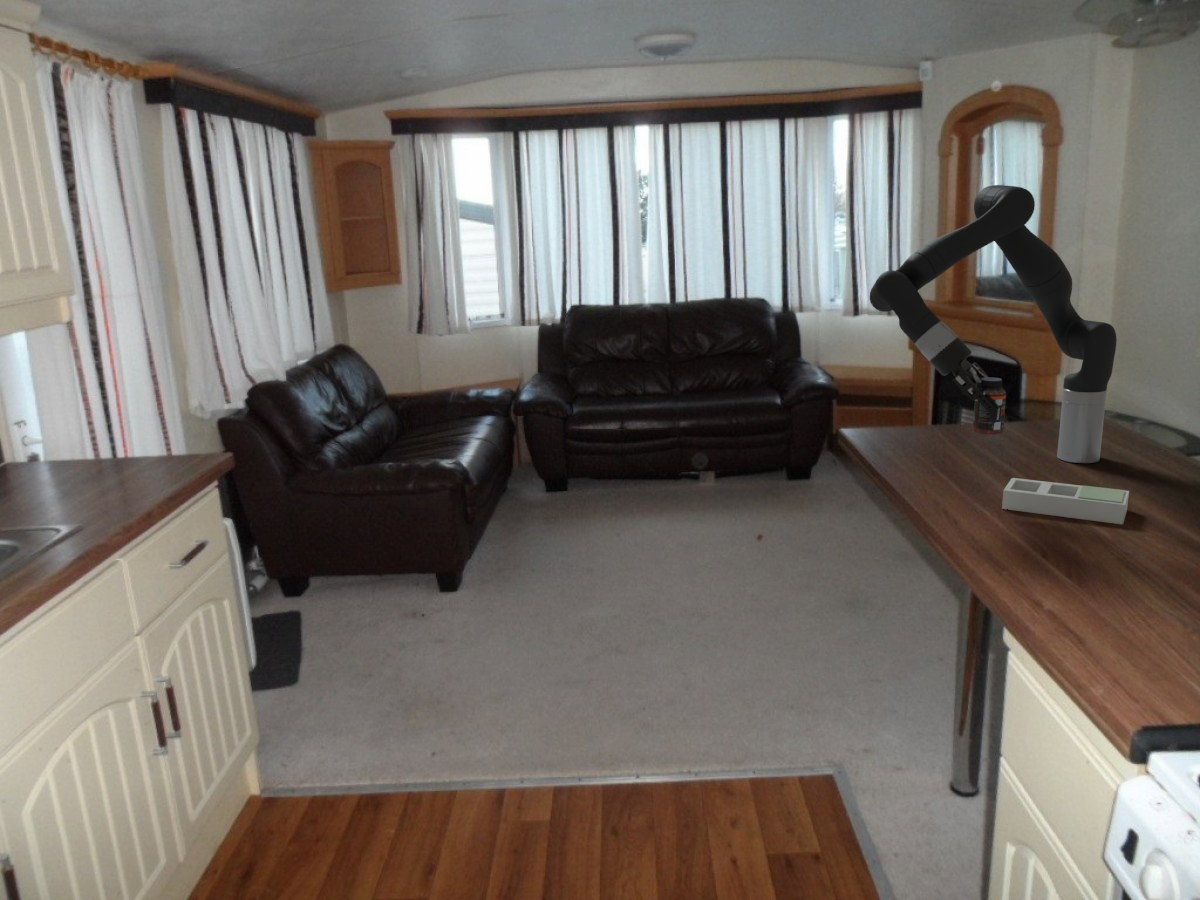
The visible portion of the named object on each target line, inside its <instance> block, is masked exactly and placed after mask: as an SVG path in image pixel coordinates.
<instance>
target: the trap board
mask: <svg viewBox="0 0 1200 900" xmlns="http://www.w3.org/2000/svg"><path fill="white" fill-rule="evenodd" d="M1129 496H1130V490H1125V489H1118V488H1109V487H1099V486H1093V485H1092V486H1091V485H1078V484H1071V483H1061V482H1052V481H1045V480H1044V481H1042V480H1036V479H1035V480H1033V479H1028V478H1027V479H1026V478H1017V477H1012V478H1010V480H1009V481H1008V483H1007V485H1006V486H1005V488H1004V489H1003V491H1002V504H1001V505H1002V506H1001V509H1002V510H1007V509H1008V510H1009V511H1017V512H1023V513H1032V514H1039V515H1045V516H1046V515H1048V516H1054V517H1055V516H1056V517H1060V518H1061V517H1063V518H1070V519H1078V520H1083V521H1084V520H1086V521H1091V522H1093V521H1094V522H1100V523H1108V524H1116V525H1124V522H1125V519H1126V515H1127V512H1128V506H1129V505H1128V503H1129Z"/></svg>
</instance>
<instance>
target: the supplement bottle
mask: <svg viewBox="0 0 1200 900" xmlns="http://www.w3.org/2000/svg"><path fill="white" fill-rule="evenodd" d="M981 381H982V383H983V385H982V387H983V388H984V390H985V391H986V393H987V394H988V395H989V396H990V397H991V398H992V399H993V400H994V401H995V402H996V403H997V404H998V406H999V409H998V410H997V411H996V412H994V413H993V414H990V413H989V412H988V411H987V410H986V409H985V408H984V407H983V406H982V405H981V404H980V403H979V402H977V401H975V400H974V408H973V420H972V421H973V422H972V425H973V426H972V430H973V431H974V432H975V433H978V434H981V435H999V434H1001V433H1003V432H1004V428H1005V416H1006V415H1005V414H1006V413H1005V412H1006V403H1007V401H1006V400H1007V392H1006V390H1005V389H1004V388H1003V387H1002V386H1003V379H1002V378H1000V377H989V376H988V377H986V378H982V379H981ZM987 394H986V395H987Z"/></svg>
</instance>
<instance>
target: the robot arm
mask: <svg viewBox="0 0 1200 900" xmlns="http://www.w3.org/2000/svg"><path fill="white" fill-rule="evenodd" d="M1035 205H1036V203H1035V197H1034V195H1033V194H1032V193H1031V192H1030V191H1029V190H1028V189H1026V188H1024V187H1020V186H1015V185H1006V184H1005V185H1004V184H996V185H995V184H994V185H993V184H992V185H988V186H986V187H984V188H982V189H981V190H979V191H978V193H977V194H976V196H975V199H974V202H973V212H974V216H975V218H976V219H975V220H973V221H972V222H969V223H967V224H966V225H964V226H962V227H960V228H957V229H955V230H953V231H952V230H951V231H950V232H948V233H945V234H943V235H940V236H938V237H936V238H935V239H933V240H931V241H929V242H928V243H926V244H925V245H923V246H922V247H921V248H920V249H918V250H916V251H915V252H914V253H913V254H911V255H910V256H908V258H907V259H906V260H905V261H904V262H903V264H902V265H901V266H899V267H898V268H897V269H896V270H893V269H892V270H887V271H883V273H881V274H880V275H879V276H878V278H877V279H876V281H875V282H874V283H873V285H872V287H871V289H870V292H869V302H870V304H871V306H872V308H874V309H875V310H876V311H879V312H884V313H885V312H886V313H888V312H892V311H893V312H894V313H895V315H896V316H897V318H898V323H899V324H898V325H899V328H900V329H901V331H902V332H903V333H904V334H905V335H906V336H907V338H908V339H910V340H911V341H912V343H913V344H914V345H915V346H916V347H917V349H918V351H920V353H921V354H922V355H923V356H924V357H925V358H926V360H927V361H928V362H929V363H930V364H931V365H932V366H933V367H934V369H936V371H938V372H939V374H940V375H942V376H944V377H945V376H947V375H948V374H950V373H952V374H953V376H954V378H953V379H952V382H953V383H954V385H956V386H957V387H958V388H959V389H960V390H961V391H962V392H963V393H964V394H965V396H967V397H968V399H970V400H971V401H973V402H975V401H977V402H979V403H980V404H981V405H982V406H983V407H984V408H985V409H986V410H987V411H988V412H989V413H990V414H993V413H994V412H996V411H997V410H998V409H999V406H998V404H997V403H996V402H995V401H994V400H993V399H992V398H991V397H990V396H989V395H988V394H987V393H986V391H985V390H984V388H983V387H982V385H983V383H982V381H981V379H982V378H986V377H989V375H988V374H987V373H986V371H984V370H983V368H982V367H981V366H980V365H979V364H978V363H977V362H973V363H970V361H968V360H967V358H968V357H970V356H971V354H972V350H971V349H970V348H969V347H968V346H967V345H966V344H965V343H964V342H963V340H962V339H960V337H958V335H957V334H956V333H955V332H954V331H953V330H952V329H951V328H950V327H949V326H948V325H947V324H945V323H944V322H943V321H942V320H941V318H939V317H938V316H937V315H936V314H935V313H934V312H933V311H932V310H931V308H929V307H928V306H927V305H926V303H925V301H924V299H923V297H922V295H921V293H920V292H919V290H921V289H922V288H923V287H925V286H926V285H928V284H929V283H931V282H933V281H934V280H936V279H937V278H938V277H940V276H941V275H942V274H943V273H946V271H948V270H949V269H950V268H952V267H953V266H955V265H956V264H957V263H959V262H961V261H962V260H963V259H965V258H967V257H969V256H970V255H972V254H973V253H975V252H976V251H978V250H980V249H982V248H984V247H986V246H988V245H989V244H991V243H993V242H995V244H996V245H997V246H998V248H999V249H1000V250H1001V251H1002V253H1003V255H1004V256H1005V258H1006V260H1007V261H1008V262H1009V264H1010V266H1011V267H1012V269H1013V270H1014V272H1015V273H1016V275H1017V276H1018V278H1019V280H1020V282H1021V283H1022V285H1023V286H1024V288H1025V289H1026V292H1027V293H1028V294H1029V295H1030V297H1031V298H1032V299H1033V300H1034V302H1035V304H1036V305H1037V307H1038V309H1039V311H1040V312H1041V314H1042V315H1043V317H1044V318H1045V320H1046V321H1047V324H1048V326H1049V328H1050V330H1051V333H1052V334H1053V337H1054V339H1055V341H1056V343H1057V345H1058V347H1059V349H1060V350H1061V351H1062V353H1063V354H1064V355H1065V356H1067V357H1070V358H1072V359H1076V360H1082V364H1081V368H1080V369H1079V371H1078V372H1074V373H1070V374H1067V375H1065V377H1064V379H1063V387H1062V389H1063V390H1062V398H1061V408H1060V409H1061V410H1060V421H1059V423H1060V424H1059V432H1058V442H1057V451H1056V452H1057V453H1056V458H1057V459H1059V460H1062V461H1065V462H1069V463H1074V464H1075V463H1076V464H1077V463H1078V464H1092V463H1093V464H1094V463H1098V462H1099V461H1100V460H1101V459H1100V458H1101V449H1102V440H1103V439H1102V438H1103V430H1104V419H1105V411H1106V400H1107V391H1108V384H1109V381H1110V380H1111V377H1112V373H1113V367H1114V363H1115V362H1114V361H1115V356H1116V350H1117V333H1116V329H1115V328H1114V326H1113V325H1112V324H1110V323H1108V322H1103V321H1096V320H1086V319H1084V318H1082V317H1081V316H1080V315H1079V314H1078V312H1077V311H1076V309H1075V308H1074V306H1073V304H1072V303H1071V297H1072V291H1073V278H1072V276H1071V273H1070V270H1068V267H1067V266H1066V265H1065V262H1064V261H1063V260H1062V258H1061V257H1060V256H1059V254H1058V253H1057V252H1056V251H1055V250H1054V249H1053V248H1052V247H1051V246H1050V245H1048V244H1047V243H1046V242H1045V241H1043V240H1042V239H1041V238H1040V237H1038V236H1037V235H1035V234H1034V233H1033V232H1032V231H1031V230H1030V229H1029V228H1028V227H1027V226H1026V224H1027V223H1028V222H1029V221H1030V220H1031V218H1032V216H1033V214H1034V211H1035ZM986 394H987V395H986Z"/></svg>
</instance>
